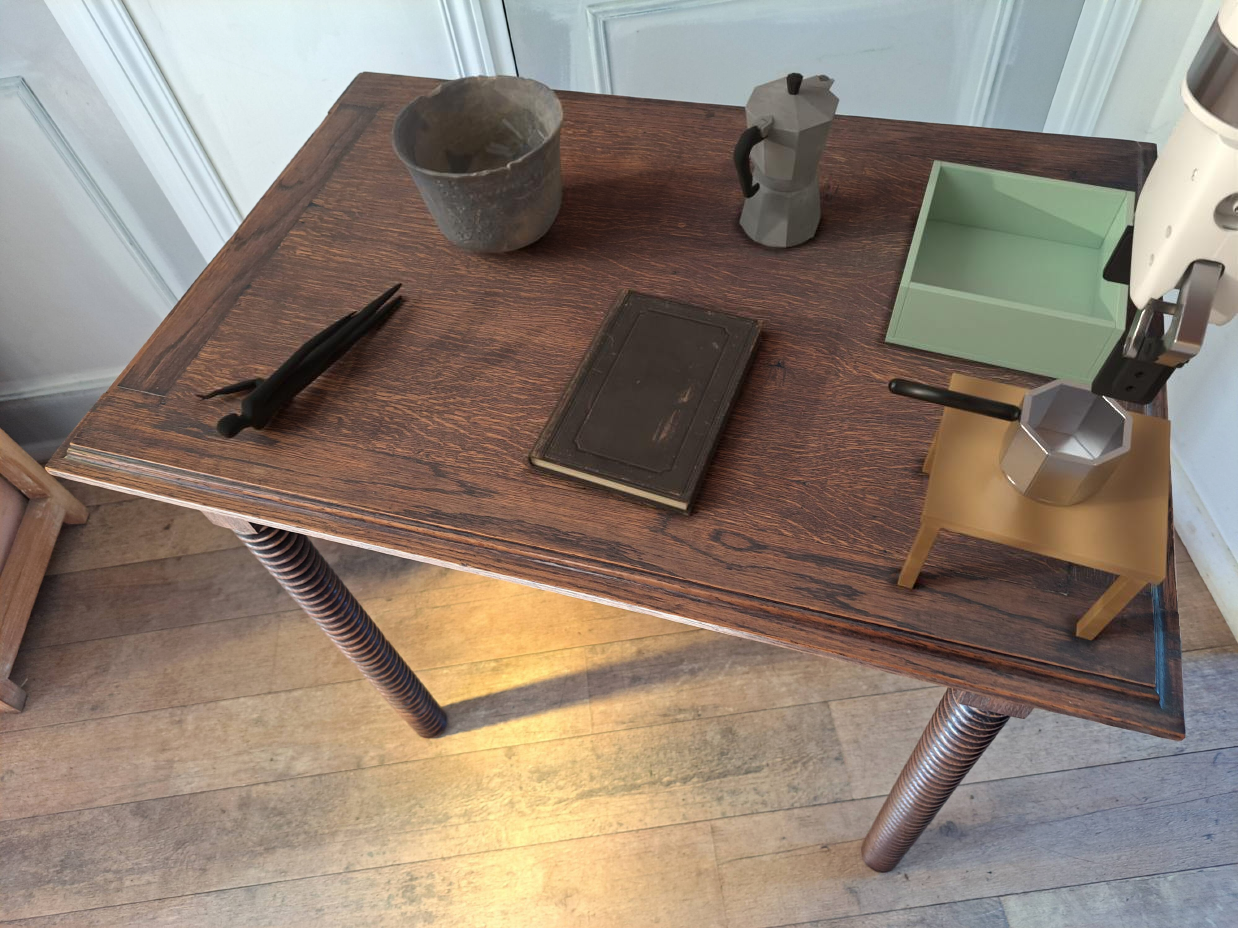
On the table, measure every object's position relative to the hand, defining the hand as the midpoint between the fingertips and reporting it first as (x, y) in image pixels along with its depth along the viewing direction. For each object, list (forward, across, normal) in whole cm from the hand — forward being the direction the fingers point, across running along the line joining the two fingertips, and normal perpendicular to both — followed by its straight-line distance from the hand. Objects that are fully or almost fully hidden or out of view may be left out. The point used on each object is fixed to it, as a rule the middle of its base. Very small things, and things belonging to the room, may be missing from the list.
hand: (1123, 336), depth 52 cm
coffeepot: (+26, +34, +28) cm, 51 cm away
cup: (+27, +24, +58) cm, 69 cm away
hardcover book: (+26, +6, +33) cm, 43 cm away
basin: (+26, +30, +3) cm, 40 cm away
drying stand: (+26, 0, -1) cm, 26 cm away
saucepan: (+14, 0, +4) cm, 14 cm away
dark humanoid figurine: (+27, 0, +70) cm, 75 cm away
